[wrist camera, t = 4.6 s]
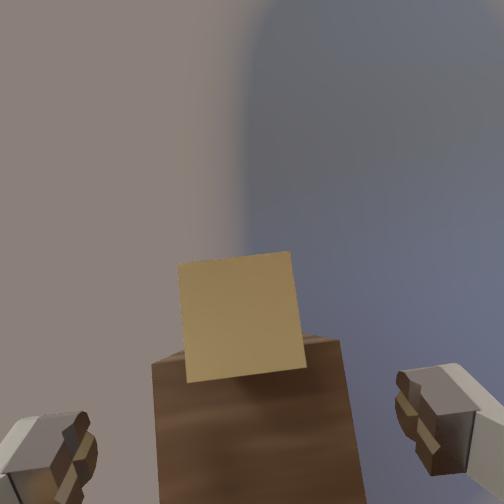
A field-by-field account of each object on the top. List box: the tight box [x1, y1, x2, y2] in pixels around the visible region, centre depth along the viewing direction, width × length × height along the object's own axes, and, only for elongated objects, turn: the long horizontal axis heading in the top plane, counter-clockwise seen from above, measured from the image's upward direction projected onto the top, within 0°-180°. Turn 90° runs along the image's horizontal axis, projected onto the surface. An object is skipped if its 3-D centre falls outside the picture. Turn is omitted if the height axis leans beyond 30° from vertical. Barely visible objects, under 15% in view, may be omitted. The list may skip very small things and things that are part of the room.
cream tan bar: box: [178, 251, 307, 383], centre depth 20 cm, size 20×4×4 cm, turn 1°
